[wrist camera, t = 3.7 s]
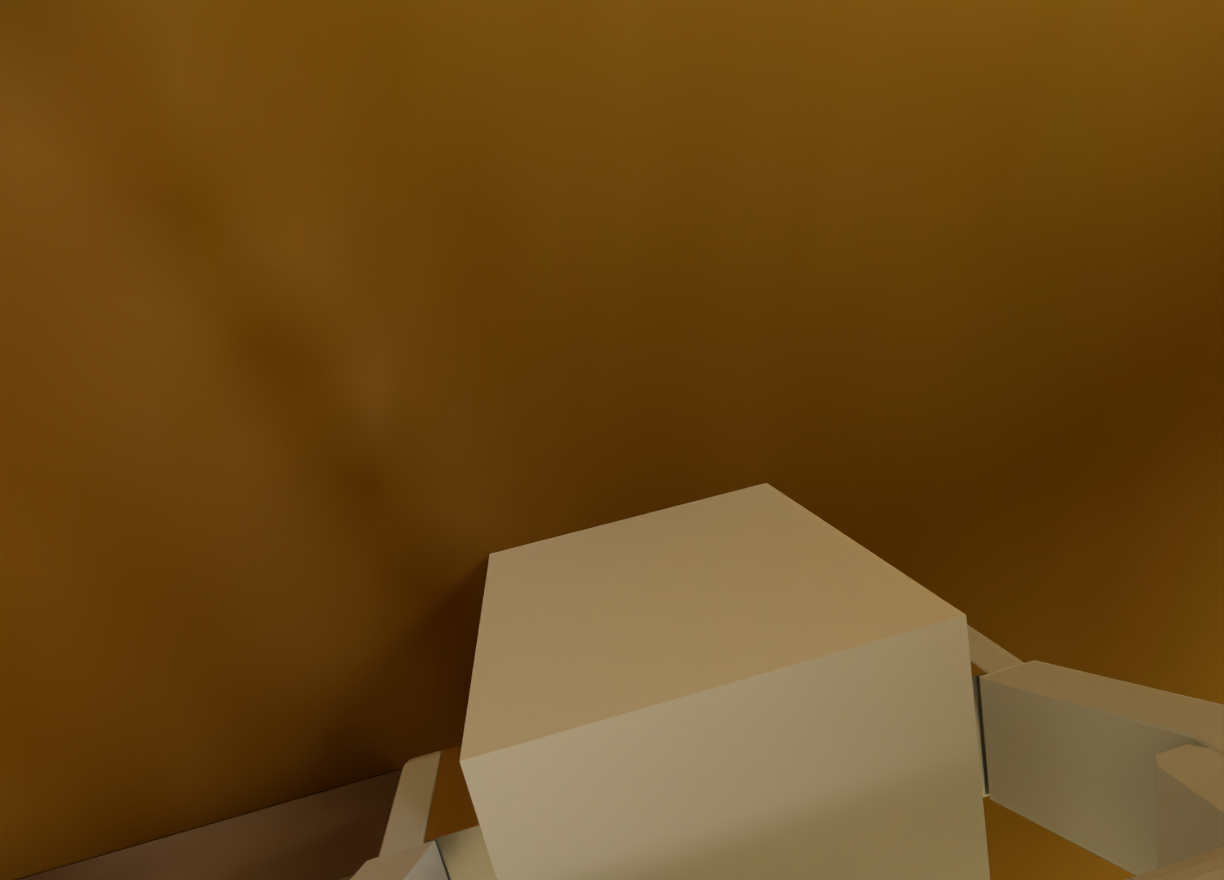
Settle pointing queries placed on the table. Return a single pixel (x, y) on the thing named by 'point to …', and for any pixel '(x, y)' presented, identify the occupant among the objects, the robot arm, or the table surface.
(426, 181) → the table surface
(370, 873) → the robot arm
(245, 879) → the walnut base
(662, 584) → the off-white cube
